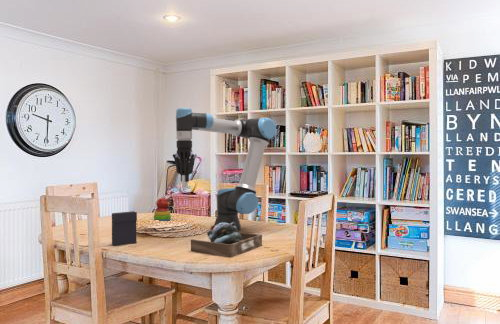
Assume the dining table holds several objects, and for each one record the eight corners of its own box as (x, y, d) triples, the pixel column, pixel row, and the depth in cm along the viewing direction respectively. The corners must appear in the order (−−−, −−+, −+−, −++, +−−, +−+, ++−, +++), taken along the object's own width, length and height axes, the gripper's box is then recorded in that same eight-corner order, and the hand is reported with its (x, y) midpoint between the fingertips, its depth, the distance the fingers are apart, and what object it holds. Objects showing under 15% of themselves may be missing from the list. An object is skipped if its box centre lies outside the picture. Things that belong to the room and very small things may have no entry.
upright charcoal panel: (133, 241, 213) (133, 211, 213) (137, 243, 210) (136, 212, 209) (111, 244, 206) (111, 212, 206) (114, 246, 203) (114, 214, 203)
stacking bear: (167, 231, 240) (167, 199, 239) (150, 231, 242) (150, 198, 241) (175, 228, 250) (174, 197, 250) (158, 227, 252) (158, 196, 252)
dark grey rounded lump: (211, 252, 191) (202, 222, 196) (214, 256, 203) (206, 228, 208) (244, 241, 193) (235, 212, 198) (245, 247, 204) (236, 219, 209)
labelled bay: (224, 240, 216) (224, 230, 216) (262, 245, 205) (262, 234, 205) (190, 251, 194) (190, 239, 194) (231, 257, 183) (231, 245, 183)
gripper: (168, 140, 214) (169, 188, 215) (190, 139, 208) (191, 189, 208) (178, 140, 220) (179, 187, 221) (199, 139, 214) (200, 188, 215)
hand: (184, 188), depth 215 cm, fingers closed
